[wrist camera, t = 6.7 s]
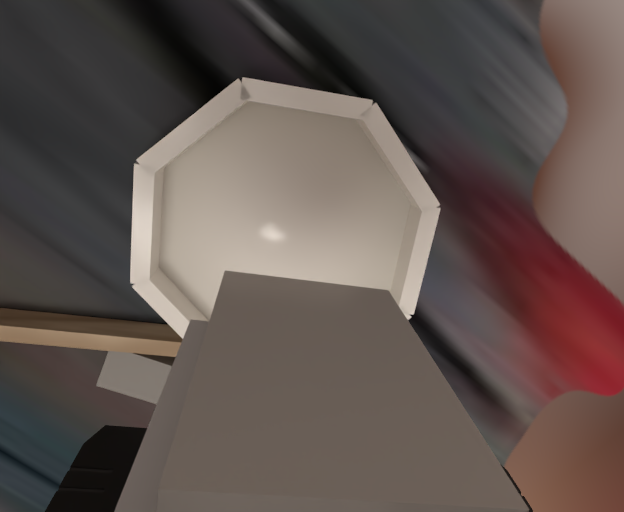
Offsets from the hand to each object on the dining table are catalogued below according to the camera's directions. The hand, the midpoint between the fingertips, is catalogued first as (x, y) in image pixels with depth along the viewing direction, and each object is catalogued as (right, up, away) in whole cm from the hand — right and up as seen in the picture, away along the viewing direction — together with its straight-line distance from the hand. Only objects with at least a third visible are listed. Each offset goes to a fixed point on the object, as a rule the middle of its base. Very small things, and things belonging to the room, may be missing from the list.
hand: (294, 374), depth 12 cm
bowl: (-1, +5, +14) cm, 15 cm away
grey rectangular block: (-11, -4, +16) cm, 20 cm away
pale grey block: (0, 0, 0) cm, 0 cm away
